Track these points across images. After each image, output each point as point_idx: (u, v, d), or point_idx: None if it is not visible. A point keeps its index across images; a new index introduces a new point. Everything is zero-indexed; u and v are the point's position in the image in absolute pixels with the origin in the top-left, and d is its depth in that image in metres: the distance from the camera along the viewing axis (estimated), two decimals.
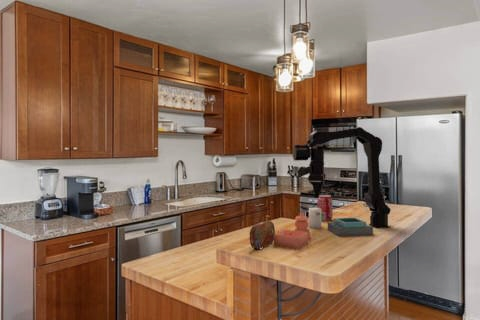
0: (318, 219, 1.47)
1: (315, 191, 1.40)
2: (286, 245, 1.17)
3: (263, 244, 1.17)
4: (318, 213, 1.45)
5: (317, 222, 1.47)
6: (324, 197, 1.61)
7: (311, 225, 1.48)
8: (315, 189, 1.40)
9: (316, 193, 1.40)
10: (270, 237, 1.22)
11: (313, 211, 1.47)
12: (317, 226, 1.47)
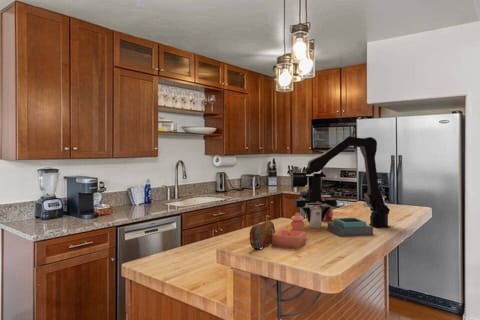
0: (318, 219, 1.47)
1: (306, 216, 1.49)
2: (285, 245, 1.16)
3: (263, 244, 1.17)
4: (318, 213, 1.45)
5: (317, 222, 1.47)
6: (324, 197, 1.61)
7: (311, 225, 1.48)
8: (306, 214, 1.49)
9: (307, 218, 1.49)
10: (270, 237, 1.22)
11: (313, 211, 1.47)
12: (317, 226, 1.47)
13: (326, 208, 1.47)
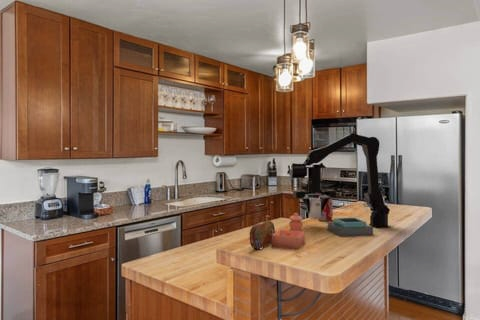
0: (318, 210, 1.47)
1: (306, 207, 1.49)
2: (285, 245, 1.16)
3: (263, 244, 1.17)
4: (318, 204, 1.45)
5: (317, 213, 1.47)
6: None
7: (311, 216, 1.48)
8: (305, 205, 1.49)
9: (307, 209, 1.49)
10: (270, 237, 1.22)
11: (313, 202, 1.47)
12: (317, 217, 1.47)
13: (326, 199, 1.47)
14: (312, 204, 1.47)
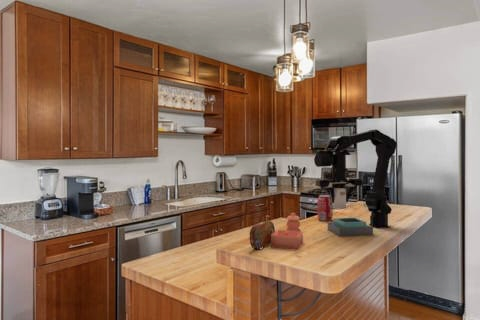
0: (343, 200, 1.38)
1: (330, 196, 1.41)
2: (284, 245, 1.16)
3: (263, 244, 1.17)
4: (343, 193, 1.36)
5: (342, 203, 1.38)
6: (324, 197, 1.61)
7: (335, 206, 1.39)
8: (329, 195, 1.41)
9: (331, 199, 1.41)
10: (270, 237, 1.22)
11: (337, 191, 1.39)
12: (342, 207, 1.38)
13: (351, 188, 1.39)
14: (337, 193, 1.39)
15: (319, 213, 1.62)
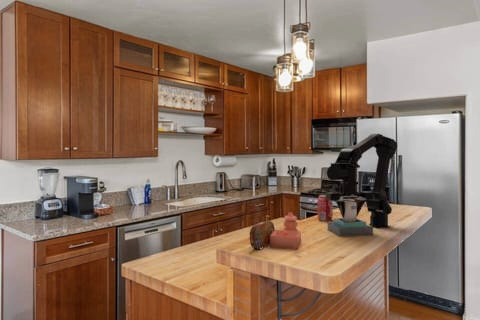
0: (353, 214, 1.35)
1: (340, 210, 1.38)
2: (284, 246, 1.16)
3: (263, 244, 1.17)
4: (354, 207, 1.33)
5: (353, 217, 1.35)
6: (324, 197, 1.61)
7: (346, 220, 1.36)
8: (339, 208, 1.38)
9: (341, 212, 1.37)
10: None
11: (348, 205, 1.35)
12: (352, 221, 1.35)
13: (362, 202, 1.35)
14: (347, 207, 1.35)
15: (319, 213, 1.62)
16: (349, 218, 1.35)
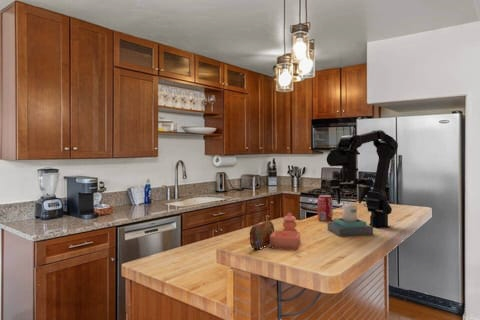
0: (353, 217, 1.35)
1: (336, 197, 1.37)
2: (283, 246, 1.15)
3: (263, 244, 1.17)
4: (354, 210, 1.33)
5: (353, 221, 1.35)
6: (324, 197, 1.61)
7: None
8: (335, 195, 1.37)
9: (337, 199, 1.37)
10: None
11: (348, 208, 1.35)
12: None
13: (366, 188, 1.36)
14: (347, 210, 1.35)
15: (319, 213, 1.62)
16: (349, 221, 1.35)
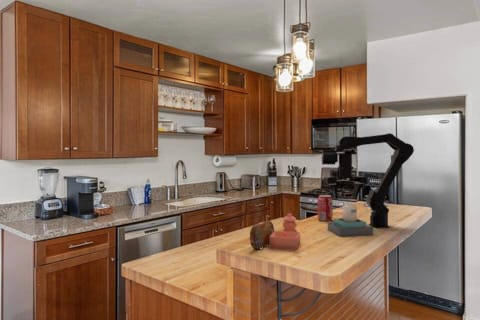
0: (353, 217, 1.35)
1: (333, 193, 1.50)
2: (283, 247, 1.15)
3: (263, 244, 1.17)
4: (354, 210, 1.33)
5: (353, 221, 1.35)
6: (324, 197, 1.61)
7: None
8: (333, 192, 1.50)
9: (334, 195, 1.49)
10: None
11: (348, 208, 1.35)
12: None
13: (360, 185, 1.48)
14: (347, 210, 1.35)
15: (319, 213, 1.62)
16: (349, 221, 1.35)
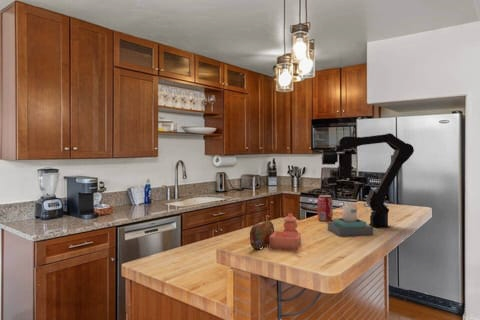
0: (353, 217, 1.35)
1: (333, 193, 1.50)
2: (283, 247, 1.14)
3: (263, 244, 1.17)
4: (354, 210, 1.33)
5: (353, 221, 1.35)
6: (324, 197, 1.61)
7: None
8: (333, 192, 1.50)
9: (334, 195, 1.49)
10: None
11: (348, 208, 1.35)
12: None
13: (360, 185, 1.48)
14: (347, 210, 1.35)
15: (319, 213, 1.62)
16: (349, 221, 1.35)
